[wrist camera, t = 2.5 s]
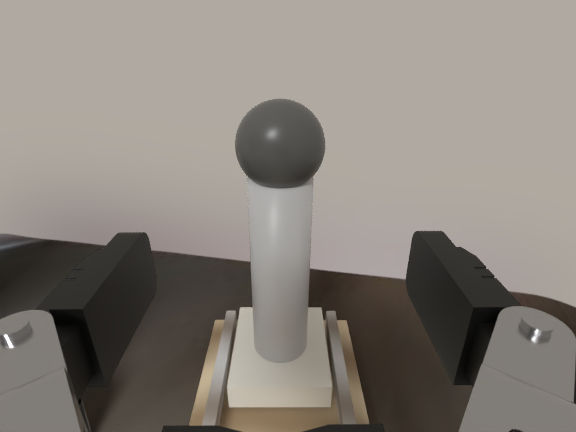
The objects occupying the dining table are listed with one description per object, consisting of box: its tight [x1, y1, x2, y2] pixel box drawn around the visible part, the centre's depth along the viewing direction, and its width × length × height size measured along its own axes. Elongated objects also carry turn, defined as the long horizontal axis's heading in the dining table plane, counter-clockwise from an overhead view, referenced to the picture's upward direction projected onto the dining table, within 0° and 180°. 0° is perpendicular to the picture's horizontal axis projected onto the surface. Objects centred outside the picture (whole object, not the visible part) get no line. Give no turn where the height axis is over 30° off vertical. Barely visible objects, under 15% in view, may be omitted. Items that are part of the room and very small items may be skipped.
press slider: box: [227, 99, 332, 407], centre depth 24 cm, size 8×7×20 cm
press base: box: [189, 311, 369, 432], centre depth 24 cm, size 21×12×3 cm, turn 0°
